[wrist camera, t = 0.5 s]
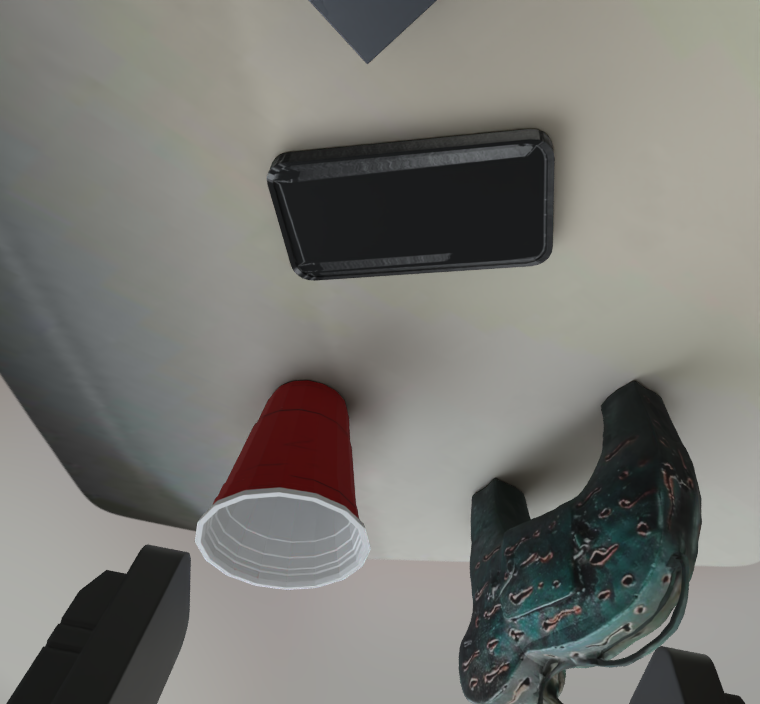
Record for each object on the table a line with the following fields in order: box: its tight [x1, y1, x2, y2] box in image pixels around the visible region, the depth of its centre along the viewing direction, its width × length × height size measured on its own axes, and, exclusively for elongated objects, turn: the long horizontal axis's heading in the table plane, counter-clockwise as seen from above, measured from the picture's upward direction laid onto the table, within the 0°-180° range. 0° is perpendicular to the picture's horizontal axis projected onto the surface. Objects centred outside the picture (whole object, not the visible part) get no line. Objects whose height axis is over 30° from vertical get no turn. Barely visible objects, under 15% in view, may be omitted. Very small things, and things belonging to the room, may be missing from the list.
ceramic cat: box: [459, 381, 702, 704], centre depth 46 cm, size 20×6×20 cm, turn 147°
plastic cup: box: [195, 380, 371, 590], centre depth 47 cm, size 11×11×12 cm
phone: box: [267, 129, 555, 280], centre depth 39 cm, size 8×1×15 cm
